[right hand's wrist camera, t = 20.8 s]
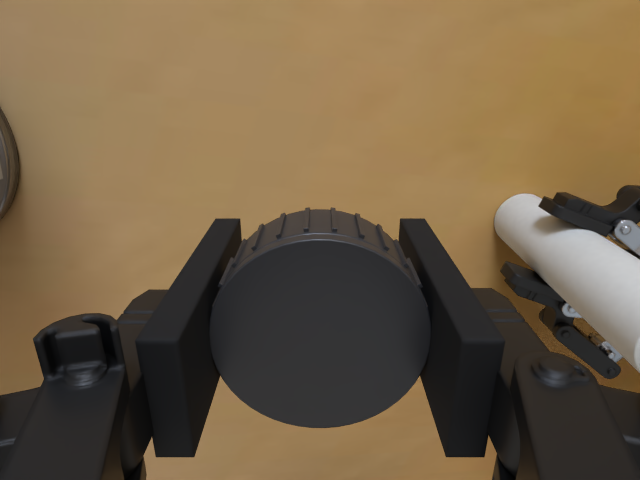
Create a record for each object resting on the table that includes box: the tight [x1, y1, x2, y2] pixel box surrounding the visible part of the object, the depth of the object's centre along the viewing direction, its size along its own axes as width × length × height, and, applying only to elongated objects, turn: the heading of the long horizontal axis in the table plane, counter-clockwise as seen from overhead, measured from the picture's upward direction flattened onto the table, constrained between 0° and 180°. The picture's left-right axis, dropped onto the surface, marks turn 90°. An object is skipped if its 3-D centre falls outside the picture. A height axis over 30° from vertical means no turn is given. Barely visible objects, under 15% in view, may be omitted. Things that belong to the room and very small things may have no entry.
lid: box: [209, 208, 431, 428], centre depth 11 cm, size 5×5×2 cm
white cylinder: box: [494, 194, 640, 373], centre depth 26 cm, size 4×4×18 cm
